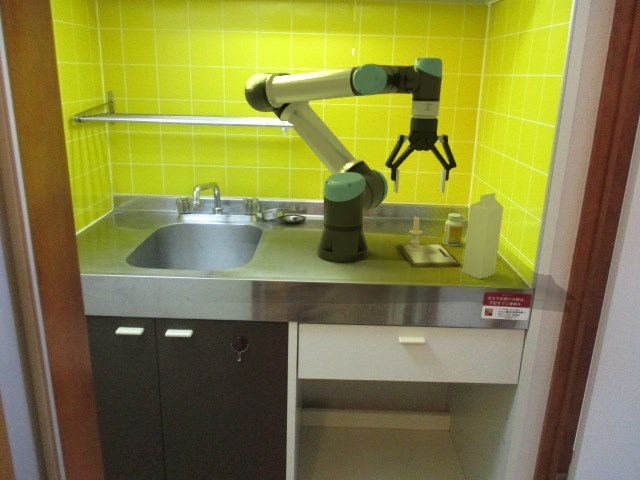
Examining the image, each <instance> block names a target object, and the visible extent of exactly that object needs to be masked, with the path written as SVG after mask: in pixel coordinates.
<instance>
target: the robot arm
mask: <svg viewBox="0 0 640 480" xmlns="http://www.w3.org/2000/svg"><path fill="white" fill-rule="evenodd" d="M443 64H444V63H443V60H442V59H441V58H439V57H417V58H416V59H414V64H412V65H393V64H391V65H390V64H376V63H365V64H362V65H359V66H350V67H345V68H337V69H328V70H319V71H313V72H306V73H298V74H297V73H296V74H292V73H289V72H278V73H277V72H259V73H256V74H254V75H252V76H250V77H249V79H248V80H247V81H246V84H245V86H244V97H245V100H246V103H247V104H248V105H249V106H250V108H252V109H254V110H255V111H257V112H262V113H271V112H272V113H273V114H274V115H275V116H276V117H277V118H278V119H279V121H280V122H281V121H288V122H289V123H291V124H293V127H292V128H293V130H294V131H295V132H296V134H297V135H299V137H300V138H301V139H302V140H303V142H304V143H305V144H306V145H307V146H308V147H309V149H310V150H311V151H312V152H313V153H314V155H315V156H316V157H317V158H318V160H320V162H322V164H323V165H324V166H325V167H326V169H327V170H328V171H329V172H330V173H331V174H330V175H329V176H328V177H326V179H325V180H324V187H323V192H322V193H323V226H322V227H323V229H322V231H321V234H320V237H319V241H318V242H317V247H316V254H317V256H318V257H319V256H320V258H321V259H323V258H324V259H323V260H325V259H327V260H326V261H329V262H334V261H335V263H355V262H359V261H363V260H365V259H366V258H367V257H368V255H369V245H368V242H367V238H366V236H365V231H364V215H365V212H369V211H370V210H372V209H375V208H377V207H378V206H379V205H381V204H382V203H383V202H384V201H385V199H386V198H387V196H388V191H389V183H388V181H387V179H386V177H385V175H384V174H383V173H382V172H381V171H379V170H376V169H372V168H370V167H369V165H368V164H367V163H366V162H365V161H364V160H363V159H357V158H355V156H354V155H353V154H352V153H351V152H350V151H349V150H348V148H347V147H346V146H345V145H344V144H343V143H342V141H341V140H340V139H339V138H338V136H336V135H335V134H334V132H333V131H332V130H331V128H329V127H328V125H327V124H326V123H325V121H323V119H322V118H321V117H320V116H319V115H318V114H317V113H316V112H315V110H314V109H313V108H312V106H310V101H312V102H313V101H321V100H331V99H333V100H334V99H343V98H353V97H363V96H364V97H365V96H366V97H367V96H376V95H389V94H390V95H392V94H395V95H396V94H397V95H400V94H401V95H412V97H411V110H410V115H411V116H412V117H411V118H410V122H409V123H410V124H409V134H408V135H405V134H402V133H399V134H398V136H397V142H396V143H395V145H394V147H393V149H392V151H391V152H390V154H389V156H388V158H387V160H386V161H385V163H384V165H385V167H386V168H388V169H390V180H391V181H392V182H393V190H392V191H393V192H394V193H395V194H398V193H399V184H400V183H399V182H400V169H399V167H400V166H401V165H402V164H403V163H404V161H405V160H407V158H408V157H409V156H411V154H412V153H413V152H414V151H416V152H421V151H423V152H430V151H431V153H432V154H433V155H434V156H435V158H436V159H437V160H438V162H439V163H440V165H441V166H442V167H443V168H441V169H440V175H439V184H438V185H439V186H438V191H439V192H440V193H441V194H442V193H443V194H445V189H446V182H449V180H450V171H451V170H452V169H455V168H457V166H458V165H457V162H456V159H455V158H454V155H453V152H452V148H451V147H450V145H449V135H447V134H445V133H444V134H441V135H438V126H439V124H438V123H439V119H438V116H439V114H440V101H441V90H442V80H443ZM289 123H288V124H289ZM406 141H408V142H409V144H408V145H407V147H406V149H405V150H403V152H402V153H401V154H400V156H398V154H399V152H400V151H401V149H402V147H403V145H404V144H405V143H406ZM438 141H439V143H441V147H442V149H443V151H444V153H445V154H444V155H445V156H446V158H447V160H446V159H445V158H444V156H443V155H442V154H441V152H440V151H439V150H438V148H437V146H436V145H435V144H436V143H437V142H438ZM396 157H398V158H397V159H396ZM447 161H448V162H447Z"/></svg>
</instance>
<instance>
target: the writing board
mask: <svg viewBox="0 0 640 480" xmlns="http://www.w3.org/2000/svg"><path fill="white" fill-rule="evenodd" d="M410 244H411V243H410ZM410 244H409V243H408V244H398V245H397V248H398V249H399V251H400V252H401V253H402V255H403V257H404V258H405V259H406V261H407V262H408V264H409V266H410V267H411V268H430V267H431V268H433V267H436V268H438V267H442V268H444V267H448V268H449V267H461V266H462V264H461V262H459V260H458V259H457V257H455V256H454V255H453V253H451V251H449V249H447V248H446V246H445V244H444V243H434V244H433V243H430V244H429V243H424V244H422V243H419V244H418V245H420V246H422V247H423V250H422V251H409V250H407V249H406V246H407V245H410Z"/></svg>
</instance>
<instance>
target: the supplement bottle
mask: <svg viewBox="0 0 640 480" xmlns="http://www.w3.org/2000/svg"><path fill="white" fill-rule="evenodd" d="M461 220H462V214H460V213H456V212H455V213H454V212H452V213H448V215H447V220H446V221H445V223H444V229H443V230H444V233H443V239H442V240H443V241H442V242H443V243H442V244H443V245H444V246H445V245H446V246H450V247H458V246H460V245H461V243H462V235H463V227H464V224H463V222H462V221H461Z"/></svg>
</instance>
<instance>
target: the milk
mask: <svg viewBox="0 0 640 480" xmlns="http://www.w3.org/2000/svg"><path fill="white" fill-rule="evenodd" d="M503 212H504V206H503V205H502V204H501V203H500V202H499V201H498V200H497V199H496V192H493V193H486V194H481V195H480V200H479V201H477V202H474V203H472V204H470V205H469V212H468V222H467V230H466V238H465V239H466V241H465V248H464V257H463V266H462V273H463V274H466V275H468V276H470V275H471V276H470V277H473V278H476V279H478V278H479V279H478V280H482V278H483V279H485V278H484V277H486V278H488V277H487V276H489V277H491V275H492V276H494V275H495V273H496V272H495V271H496V266H497V257H498V250H499V243H500V238H501V237H500V236H501V228H502V220H503V214H504V213H503ZM493 274H494V275H493Z"/></svg>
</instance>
